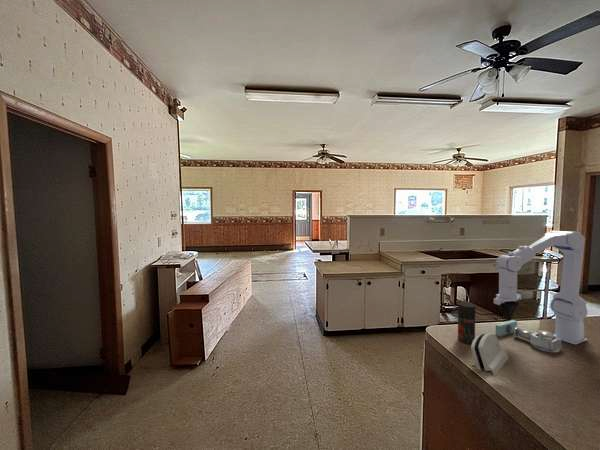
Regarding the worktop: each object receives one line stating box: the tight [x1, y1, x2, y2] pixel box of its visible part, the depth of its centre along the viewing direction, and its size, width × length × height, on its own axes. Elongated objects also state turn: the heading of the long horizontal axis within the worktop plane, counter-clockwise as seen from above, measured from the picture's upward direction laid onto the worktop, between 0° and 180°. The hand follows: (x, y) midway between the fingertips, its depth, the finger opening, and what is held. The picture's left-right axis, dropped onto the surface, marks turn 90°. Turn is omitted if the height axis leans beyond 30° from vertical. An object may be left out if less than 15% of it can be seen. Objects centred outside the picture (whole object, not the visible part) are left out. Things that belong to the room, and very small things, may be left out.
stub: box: [531, 330, 561, 354], centre depth 103 cm, size 8×8×6 cm
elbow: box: [512, 327, 562, 351], centre depth 106 cm, size 14×7×4 cm, turn 25°
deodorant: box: [457, 301, 476, 346], centre depth 109 cm, size 6×6×15 cm
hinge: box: [470, 333, 509, 376], centre depth 94 cm, size 17×5×10 cm, turn 130°
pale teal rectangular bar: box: [495, 319, 518, 337], centre depth 116 cm, size 12×2×4 cm, turn 113°
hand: (507, 319), depth 108 cm, fingers closed
